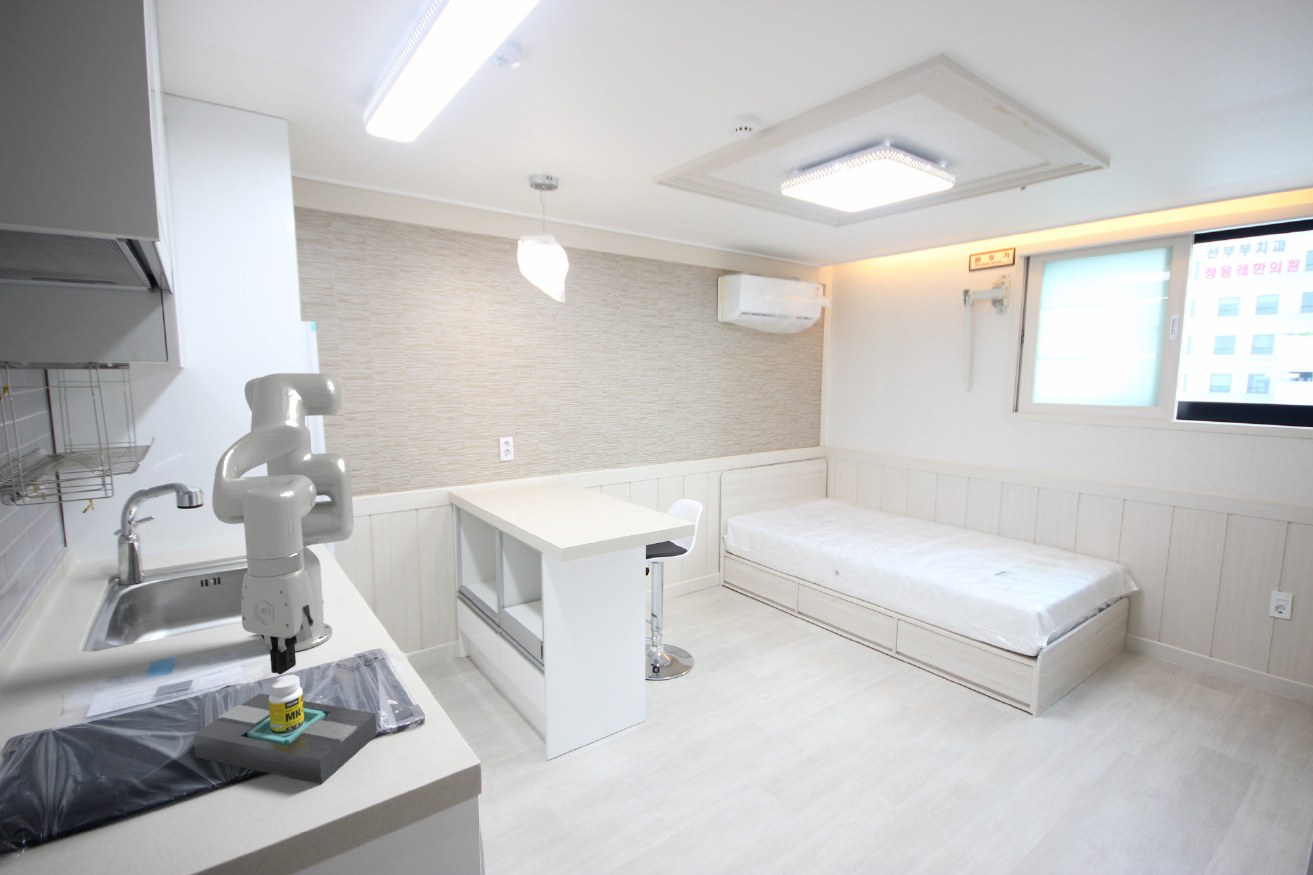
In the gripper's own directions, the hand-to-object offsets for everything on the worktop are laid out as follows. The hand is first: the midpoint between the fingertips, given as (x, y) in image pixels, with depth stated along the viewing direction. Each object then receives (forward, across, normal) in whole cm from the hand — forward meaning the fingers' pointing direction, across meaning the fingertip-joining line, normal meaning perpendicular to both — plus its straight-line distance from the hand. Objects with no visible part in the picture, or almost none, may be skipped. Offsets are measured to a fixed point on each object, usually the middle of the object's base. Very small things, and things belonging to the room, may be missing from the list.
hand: (284, 669), depth 95 cm
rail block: (+13, +1, -1) cm, 13 cm away
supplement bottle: (+10, 0, -1) cm, 11 cm away
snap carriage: (+12, +1, -1) cm, 12 cm away
